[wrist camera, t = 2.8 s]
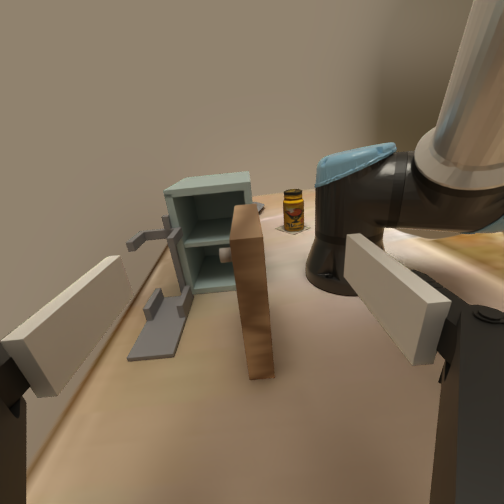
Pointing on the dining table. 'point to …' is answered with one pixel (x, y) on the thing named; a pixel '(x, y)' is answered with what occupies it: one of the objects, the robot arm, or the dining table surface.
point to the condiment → (293, 212)
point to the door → (251, 288)
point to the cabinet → (190, 254)
